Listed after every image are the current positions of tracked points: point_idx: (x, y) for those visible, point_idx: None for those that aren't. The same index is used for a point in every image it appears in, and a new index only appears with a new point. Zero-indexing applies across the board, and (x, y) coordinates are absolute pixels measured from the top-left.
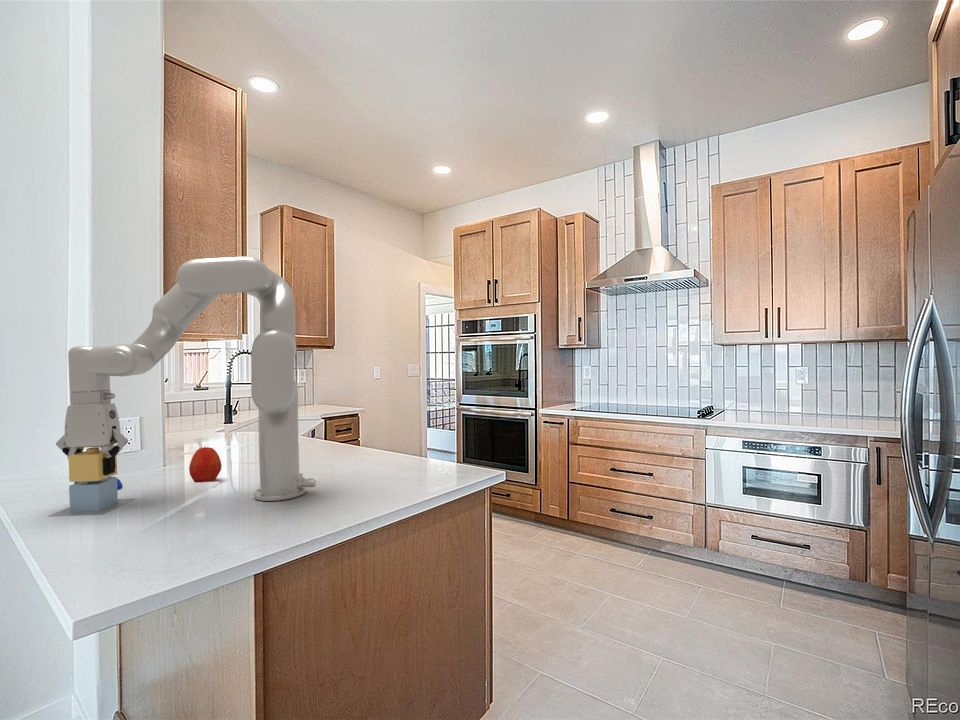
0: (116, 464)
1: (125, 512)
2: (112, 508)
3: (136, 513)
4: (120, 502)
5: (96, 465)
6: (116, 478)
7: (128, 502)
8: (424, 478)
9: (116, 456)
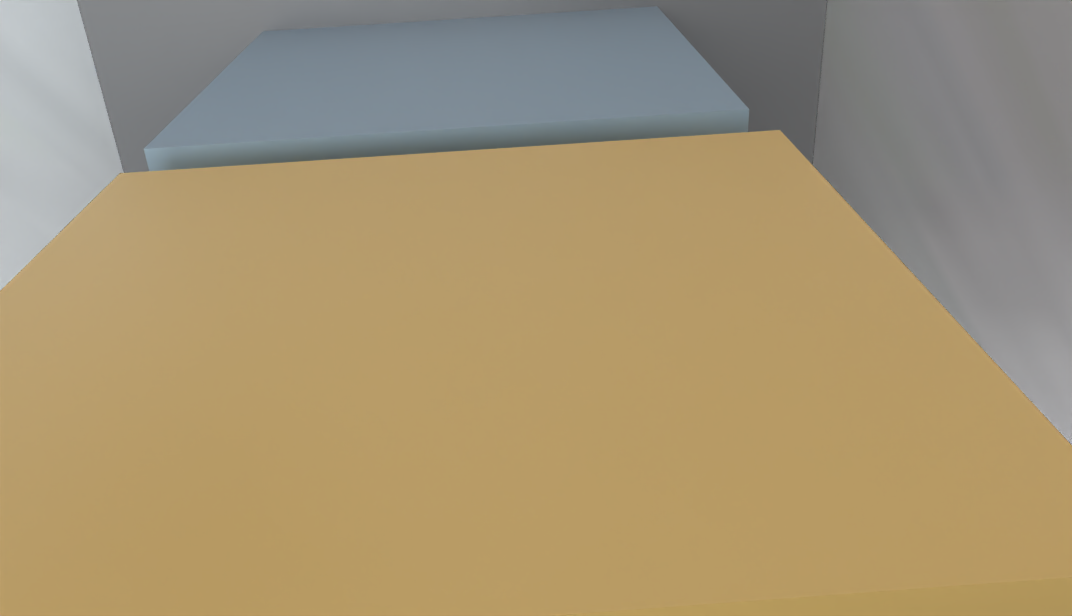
0: (866, 242)
1: (875, 211)
2: None
3: (1022, 250)
4: (708, 25)
5: None
6: (746, 122)
7: (824, 24)
8: None
9: (985, 355)
